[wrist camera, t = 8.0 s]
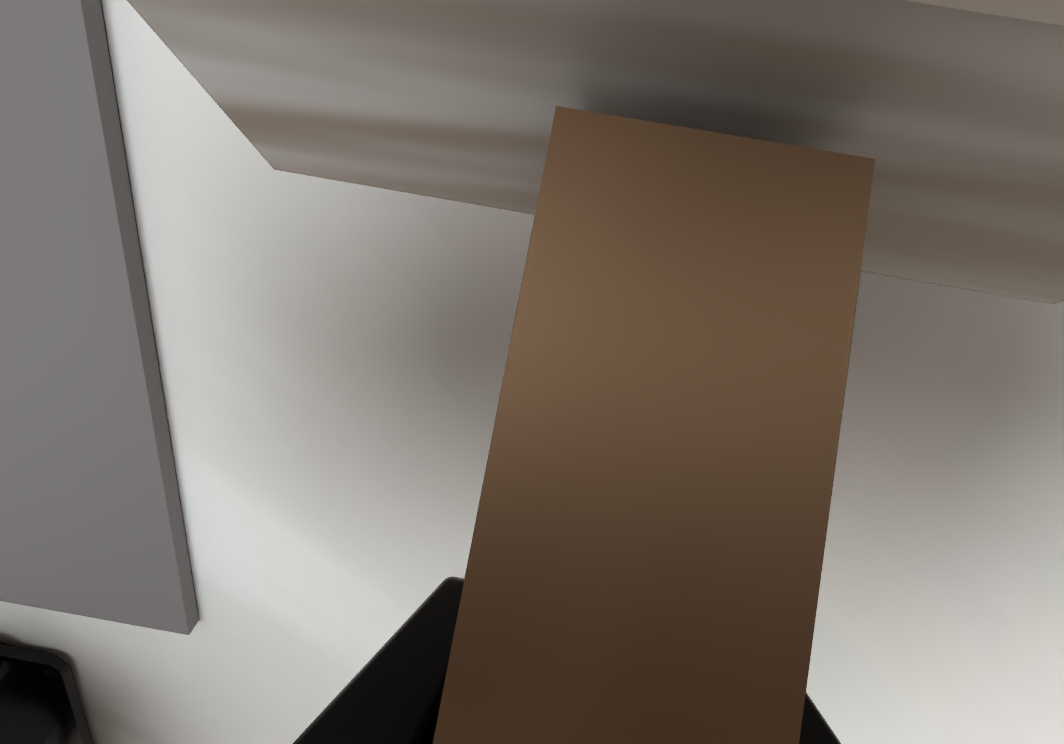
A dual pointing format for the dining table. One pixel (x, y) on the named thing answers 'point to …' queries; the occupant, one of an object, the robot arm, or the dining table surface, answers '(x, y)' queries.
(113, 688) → the dining table surface
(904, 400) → the dining table surface
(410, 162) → the t-shaped pusher tool
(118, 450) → the tool mat
